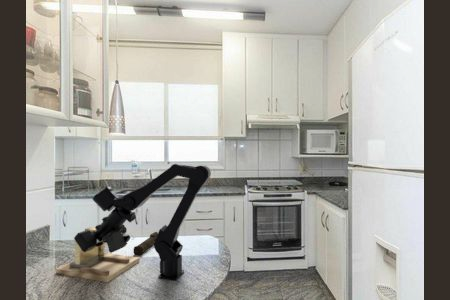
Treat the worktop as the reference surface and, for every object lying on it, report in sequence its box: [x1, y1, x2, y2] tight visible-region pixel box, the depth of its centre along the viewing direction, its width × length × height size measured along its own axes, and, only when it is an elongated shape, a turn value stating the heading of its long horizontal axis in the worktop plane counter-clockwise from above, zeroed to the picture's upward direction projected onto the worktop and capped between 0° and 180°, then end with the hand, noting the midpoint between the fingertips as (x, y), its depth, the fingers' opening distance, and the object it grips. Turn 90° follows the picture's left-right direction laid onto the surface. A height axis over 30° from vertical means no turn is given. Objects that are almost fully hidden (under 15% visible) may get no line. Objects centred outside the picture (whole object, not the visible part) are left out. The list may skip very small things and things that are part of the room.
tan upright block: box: [69, 240, 106, 269], centre depth 89 cm, size 7×12×10 cm, turn 163°
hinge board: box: [55, 227, 141, 283], centre depth 88 cm, size 22×16×12 cm
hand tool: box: [133, 231, 159, 256], centre depth 107 cm, size 19×4×5 cm, turn 168°
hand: (89, 249), depth 87 cm, fingers closed
